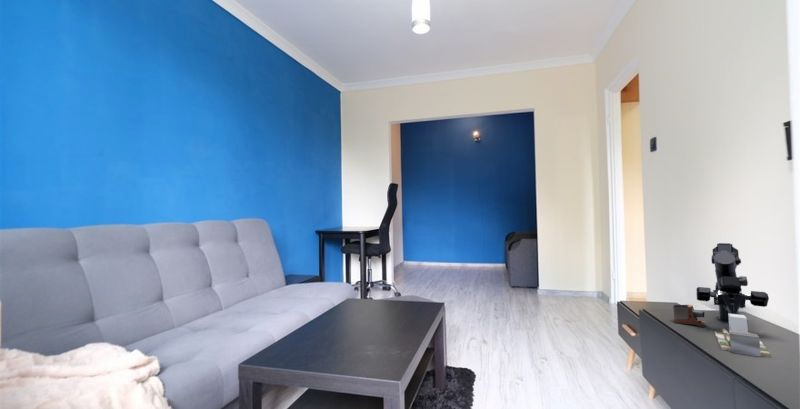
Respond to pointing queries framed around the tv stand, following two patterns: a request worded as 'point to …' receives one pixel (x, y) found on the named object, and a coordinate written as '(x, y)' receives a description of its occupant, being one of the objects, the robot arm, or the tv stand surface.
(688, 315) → the electronic device
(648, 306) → the tv stand surface
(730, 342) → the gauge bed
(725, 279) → the robot arm
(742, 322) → the white rectangular block
